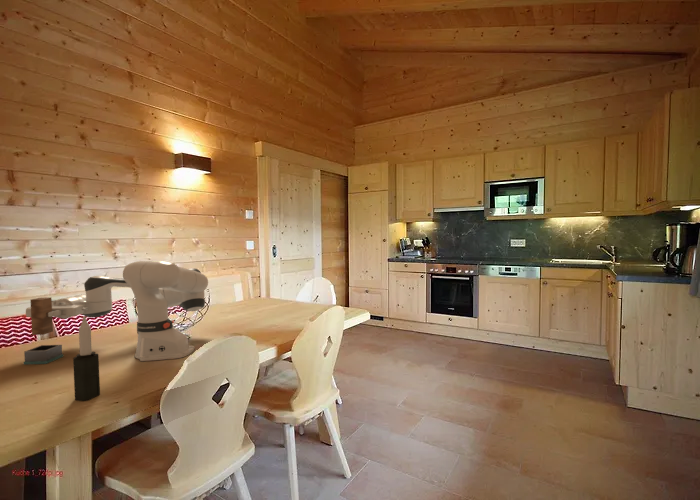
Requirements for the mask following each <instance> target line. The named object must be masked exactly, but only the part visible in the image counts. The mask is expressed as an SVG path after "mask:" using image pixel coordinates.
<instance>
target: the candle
mask: <svg viewBox="0 0 700 500" xmlns="http://www.w3.org/2000/svg"><path fill="white" fill-rule="evenodd" d="M78 339H79V353H77V354H76V356H75V357H73V358H72V360H73V361H72V363H73V365H72V366H73V384H74V385H73V387H74V400H75V401H77V402H78V401H79V402H80V401H81V402H87V401H90V400H92V399H94V398H96V397H98V396H100V395H101V386H100V385H101V384H100V363H99V362H100V361H99V360H100V359H99V358H100V357H99V356H100V355H99V354H98V353H96V352H95V351H92V350H93V349H92V329H91V326H90V324H89V323H88V321H87V317H86V316H84V315H83V316H82V321H81V324H80V326H79V328H78Z"/></svg>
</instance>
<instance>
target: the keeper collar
mask: <svg viewBox="0 0 700 500" xmlns="http://www.w3.org/2000/svg"><path fill="white" fill-rule="evenodd" d="M23 354H24V355H23V357H24V361H23V365H47V364H50V363H52V362H54V361H56V360H59V359H60V358H63V357H64V354H63V344H41V345H38V346H35V347H32V348H30V349H28V350H25V351H24V352H23Z"/></svg>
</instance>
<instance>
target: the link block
mask: <svg viewBox="0 0 700 500" xmlns="http://www.w3.org/2000/svg"><path fill="white" fill-rule="evenodd" d="M52 301H53V300H52V297H38V298H32V299H30V307H31V317H30V319H31V322H30V323H31V335H32V336H39V335H42V336H43V335H46V334H50V333H53V332H54V326H53V317H46V313H47V312H52Z"/></svg>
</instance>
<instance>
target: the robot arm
mask: <svg viewBox="0 0 700 500" xmlns="http://www.w3.org/2000/svg"><path fill="white" fill-rule="evenodd" d="M122 277H123V278H118V277H108V276H104V275H94V276H89V277H88V278H87V280H86V281H85V282H84V284H83V285H84V291H85V293H83V294H77V295H74V296H69V297H64V298H63V297H62V298H59V299H54V300H52V312H47V313H46V317H52V318H53V317H54V318H58V319H59V318H60V319H63V320H65V319H69V318H73V317H76V316H80V315H83V317H84V316H85V317H86V318H101V317H102V316H105V315H108V314H109V313H110V312H111V311H112V310H113V298H112V288H113V287H114V288H130V289H131V291H132V293H133V295H134V299H135V302H136V307H137V310H136V311H137V322H136V332H137V344H136V349H135V350H136V351H135V354H134V358H136V359H138V360H139V361H140V362H149V361H159V360H172V359H175V360H176V359H181V358H182V359H183V358H184V357H186V356H188V355H190V354H191V353H193V352H194V350H195V346H194V345H190V344H189V340H188V336H187V335H186V334H184V333H183V332H181V331H180V330H178V329H176V328H175V327H174V326H173V325H174V323H175V320H174V319H173V320H171V319H170V318H169V308H174V307H178V306H179V307H180V308H182V309H183V310H184V311H186V312H197V311H199V310H202V309H203V308H204V307H205V305H206V299H205V291H206V289H207V288H208V285H209V280H208V277H207V276H206V275H205V274H204V273H202V271H201V270H199V269H197V268H192V267H191V268H184V267H181V266H179V265H177V264H175V263H172V262H168V261H164V260H163V261H162V260H161V261H153V260H139V261H134V262H130V263H128V264H127V265H126V266H125V267H124V269H123V271H122ZM25 316H26V318H31V306H29V307H26V308H25Z"/></svg>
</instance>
